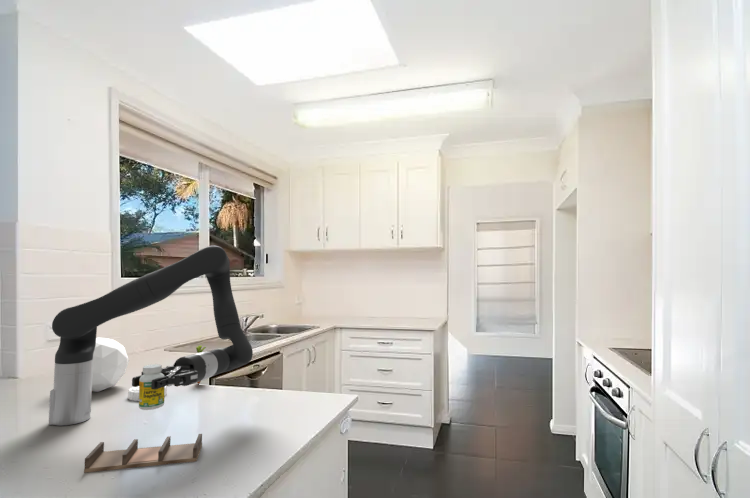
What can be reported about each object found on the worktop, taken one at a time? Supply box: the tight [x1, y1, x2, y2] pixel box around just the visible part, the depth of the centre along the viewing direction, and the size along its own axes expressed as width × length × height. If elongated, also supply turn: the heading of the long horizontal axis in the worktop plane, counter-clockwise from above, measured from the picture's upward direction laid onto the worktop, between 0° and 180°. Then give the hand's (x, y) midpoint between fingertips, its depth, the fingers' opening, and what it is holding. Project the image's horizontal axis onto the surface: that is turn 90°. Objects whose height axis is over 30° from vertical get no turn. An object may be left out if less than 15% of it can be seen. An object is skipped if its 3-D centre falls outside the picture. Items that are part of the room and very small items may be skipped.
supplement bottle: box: [138, 363, 165, 411], centre depth 101 cm, size 5×5×10 cm
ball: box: [92, 337, 130, 392], centre depth 157 cm, size 19×20×20 cm
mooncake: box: [127, 385, 168, 402], centre depth 149 cm, size 12×12×4 cm
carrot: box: [195, 345, 207, 385], centre depth 166 cm, size 5×5×15 cm
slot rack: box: [83, 433, 203, 474], centre depth 99 cm, size 23×9×3 cm, turn 105°
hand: (143, 383), depth 98 cm, fingers closed on supplement bottle, 5 cm apart
